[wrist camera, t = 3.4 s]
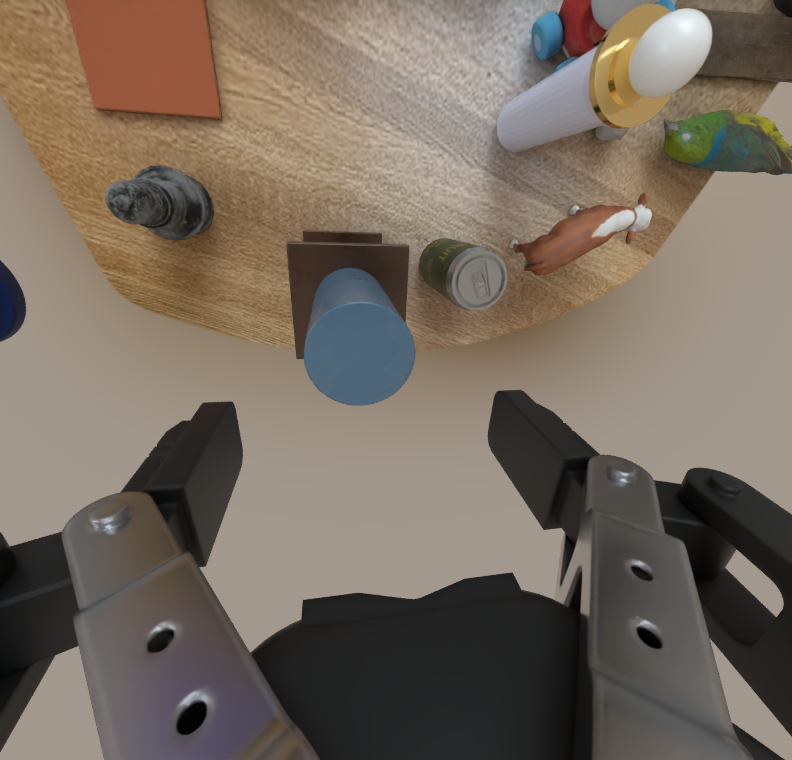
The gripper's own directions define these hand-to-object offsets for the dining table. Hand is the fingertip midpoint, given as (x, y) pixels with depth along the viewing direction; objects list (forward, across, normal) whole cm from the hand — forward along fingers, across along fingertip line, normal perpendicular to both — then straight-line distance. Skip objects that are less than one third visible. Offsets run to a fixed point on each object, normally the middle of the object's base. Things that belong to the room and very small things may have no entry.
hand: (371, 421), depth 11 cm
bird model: (+29, -42, -17) cm, 54 cm away
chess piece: (+32, +15, -6) cm, 36 cm away
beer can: (+32, -11, -1) cm, 33 cm away
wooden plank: (+31, -41, -25) cm, 57 cm away
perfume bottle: (+31, -18, -14) cm, 39 cm away
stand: (+31, 0, 0) cm, 31 cm away
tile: (+31, +16, -17) cm, 39 cm away
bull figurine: (+32, -24, -5) cm, 40 cm away
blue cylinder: (+15, 0, 0) cm, 15 cm away
